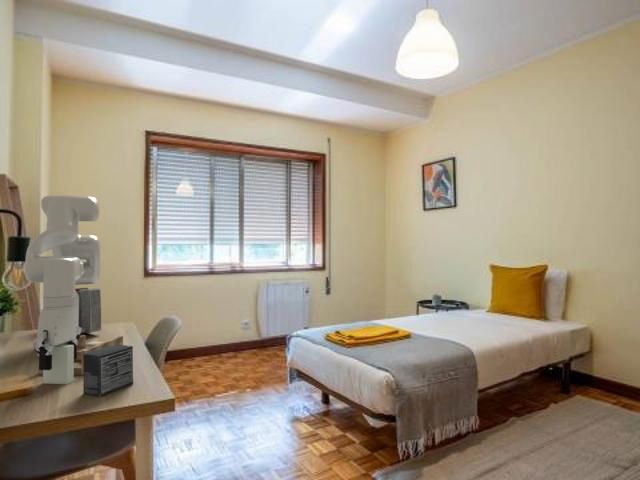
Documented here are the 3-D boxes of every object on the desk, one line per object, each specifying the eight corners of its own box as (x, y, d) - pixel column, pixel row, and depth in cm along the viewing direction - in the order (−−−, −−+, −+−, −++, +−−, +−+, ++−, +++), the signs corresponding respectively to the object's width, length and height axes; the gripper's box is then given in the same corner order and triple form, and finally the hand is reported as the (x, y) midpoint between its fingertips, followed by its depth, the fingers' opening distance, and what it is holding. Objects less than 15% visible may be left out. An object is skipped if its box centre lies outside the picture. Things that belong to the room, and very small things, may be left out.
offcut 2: (92, 349, 136) (92, 341, 136) (112, 349, 136) (112, 342, 136) (85, 351, 133) (85, 344, 133) (105, 352, 132) (106, 344, 132)
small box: (116, 381, 113) (117, 343, 113) (134, 384, 110) (134, 345, 110) (81, 394, 103) (82, 352, 103) (99, 397, 101) (100, 355, 101)
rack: (82, 355, 138) (82, 335, 138) (122, 356, 137) (123, 336, 137) (38, 373, 119) (38, 349, 119) (85, 375, 118) (85, 351, 118)
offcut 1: (83, 357, 137) (83, 348, 137) (97, 357, 137) (97, 348, 137) (75, 360, 133) (75, 351, 133) (89, 361, 133) (89, 351, 133)
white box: (49, 380, 113) (50, 344, 113) (73, 380, 113) (73, 344, 113) (42, 383, 111) (43, 346, 111) (67, 384, 110) (67, 347, 110)
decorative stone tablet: (102, 286, 172) (64, 288, 187) (87, 288, 166) (49, 290, 181) (104, 332, 170) (66, 331, 185) (89, 335, 165) (50, 333, 180)
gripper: (68, 298, 121) (67, 355, 121) (21, 306, 104) (20, 374, 104) (92, 298, 121) (91, 356, 120) (49, 307, 103) (48, 374, 103)
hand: (58, 364), depth 112 cm, fingers open, 9 cm apart
